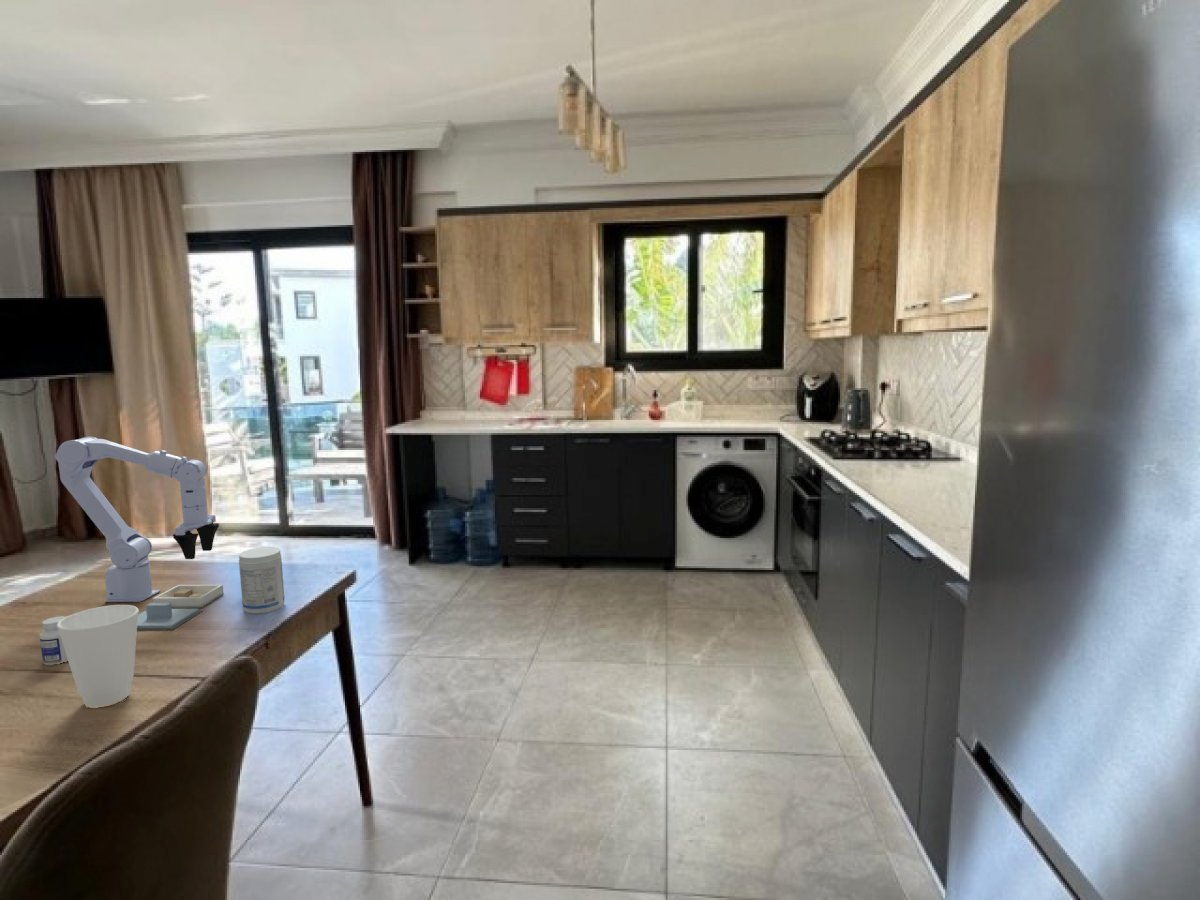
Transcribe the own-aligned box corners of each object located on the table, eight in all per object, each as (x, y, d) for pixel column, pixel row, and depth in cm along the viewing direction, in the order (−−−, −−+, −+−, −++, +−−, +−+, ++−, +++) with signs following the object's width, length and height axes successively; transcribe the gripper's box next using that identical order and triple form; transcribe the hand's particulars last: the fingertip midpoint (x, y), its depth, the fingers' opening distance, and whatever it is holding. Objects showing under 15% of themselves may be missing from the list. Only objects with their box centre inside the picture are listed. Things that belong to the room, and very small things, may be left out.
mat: (114, 630, 150) (114, 629, 150) (148, 611, 162) (148, 610, 162) (172, 630, 150) (172, 628, 150) (202, 611, 162) (202, 610, 162)
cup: (55, 722, 112) (45, 634, 110) (78, 690, 123) (69, 609, 121) (138, 707, 117) (129, 622, 114) (153, 678, 127) (145, 600, 125)
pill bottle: (67, 652, 139) (62, 613, 138) (81, 657, 137) (76, 617, 135) (37, 663, 134) (32, 622, 133) (51, 668, 132) (46, 626, 131)
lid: (118, 628, 151) (116, 612, 151) (148, 611, 161) (147, 596, 161) (171, 627, 151) (170, 612, 151) (198, 611, 161) (197, 596, 161)
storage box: (153, 608, 164) (152, 598, 164) (178, 594, 174) (177, 584, 174) (200, 608, 164) (200, 598, 164) (223, 594, 174) (222, 584, 174)
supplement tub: (255, 600, 169) (251, 546, 167) (291, 601, 169) (288, 546, 167) (234, 615, 160) (230, 557, 158) (273, 615, 159) (268, 557, 157)
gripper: (192, 511, 166) (197, 562, 167) (224, 499, 180) (228, 546, 182) (165, 511, 166) (169, 562, 167) (199, 499, 180) (203, 547, 182)
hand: (198, 554), depth 175 cm, fingers open, 7 cm apart
